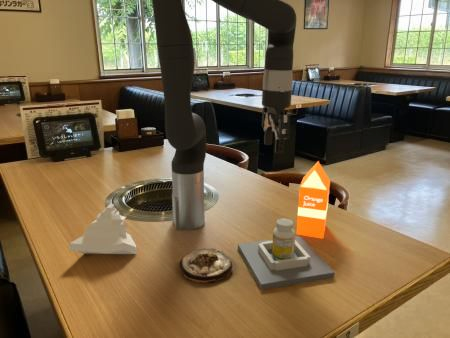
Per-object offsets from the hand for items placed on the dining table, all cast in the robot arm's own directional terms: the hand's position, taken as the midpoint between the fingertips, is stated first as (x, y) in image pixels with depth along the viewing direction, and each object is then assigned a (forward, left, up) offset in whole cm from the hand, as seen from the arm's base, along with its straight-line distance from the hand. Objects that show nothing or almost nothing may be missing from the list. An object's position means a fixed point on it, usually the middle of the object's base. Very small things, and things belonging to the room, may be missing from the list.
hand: (273, 148), depth 100 cm
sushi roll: (-22, -14, -26) cm, 37 cm away
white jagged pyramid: (-45, -1, -25) cm, 52 cm away
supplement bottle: (-3, -17, -23) cm, 29 cm away
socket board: (-3, -17, -25) cm, 30 cm away
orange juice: (+12, -3, -25) cm, 28 cm away
